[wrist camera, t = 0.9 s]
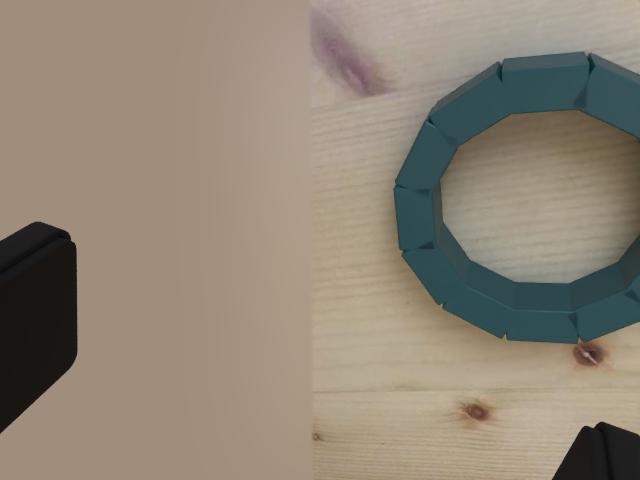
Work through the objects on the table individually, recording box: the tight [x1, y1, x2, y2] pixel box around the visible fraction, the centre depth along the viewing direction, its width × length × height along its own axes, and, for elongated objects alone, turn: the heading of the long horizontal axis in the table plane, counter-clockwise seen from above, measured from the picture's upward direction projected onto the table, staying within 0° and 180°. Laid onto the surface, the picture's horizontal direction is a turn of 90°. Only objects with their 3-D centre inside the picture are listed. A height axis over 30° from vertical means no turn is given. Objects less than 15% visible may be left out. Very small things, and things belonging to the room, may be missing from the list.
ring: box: [394, 52, 640, 344], centre depth 24 cm, size 12×12×2 cm
